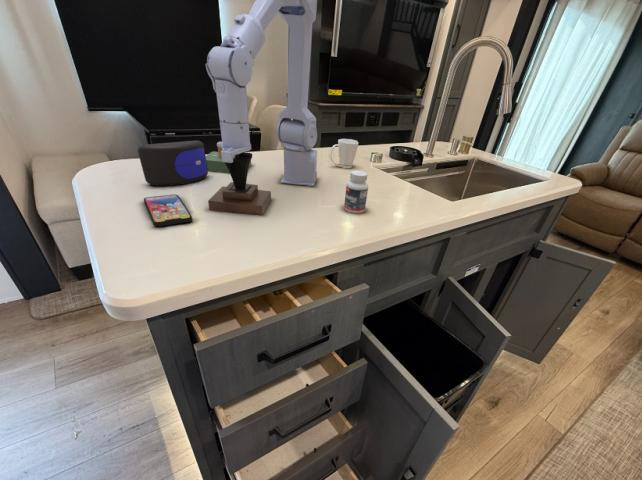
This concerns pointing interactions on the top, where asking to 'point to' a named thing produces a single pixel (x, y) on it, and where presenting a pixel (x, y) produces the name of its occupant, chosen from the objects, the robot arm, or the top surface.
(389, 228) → the top surface
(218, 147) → the dimmer knob
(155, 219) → the smartphone
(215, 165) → the green flat block
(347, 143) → the cup
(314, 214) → the top surface
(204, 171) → the leaning round-cornered charcoal block
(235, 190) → the switch button
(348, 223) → the top surface
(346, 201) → the pill bottle
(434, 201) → the top surface
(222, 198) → the switch plate
